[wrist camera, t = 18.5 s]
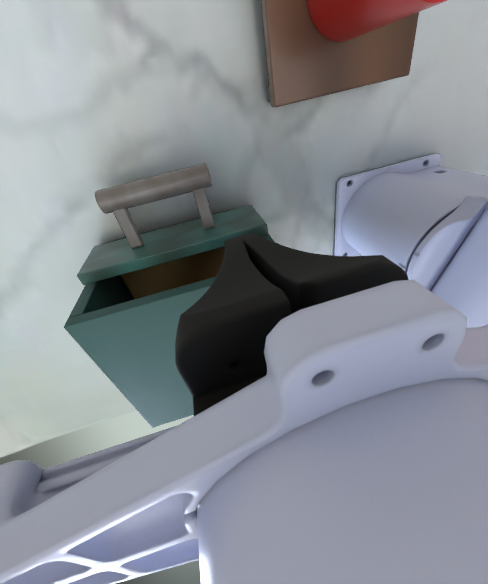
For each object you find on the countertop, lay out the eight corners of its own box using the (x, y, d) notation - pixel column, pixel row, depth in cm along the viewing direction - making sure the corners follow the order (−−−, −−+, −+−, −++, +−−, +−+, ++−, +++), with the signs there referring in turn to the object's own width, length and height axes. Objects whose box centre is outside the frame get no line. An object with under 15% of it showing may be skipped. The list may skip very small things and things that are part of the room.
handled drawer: (241, 148, 18) (257, 157, 14) (269, 311, 27) (283, 341, 24) (61, 193, 17) (32, 214, 14) (154, 345, 27) (151, 380, 23)
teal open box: (252, 212, 22) (290, 262, 15) (270, 314, 29) (301, 381, 22) (101, 253, 21) (63, 327, 14) (158, 347, 28) (152, 427, 21)
